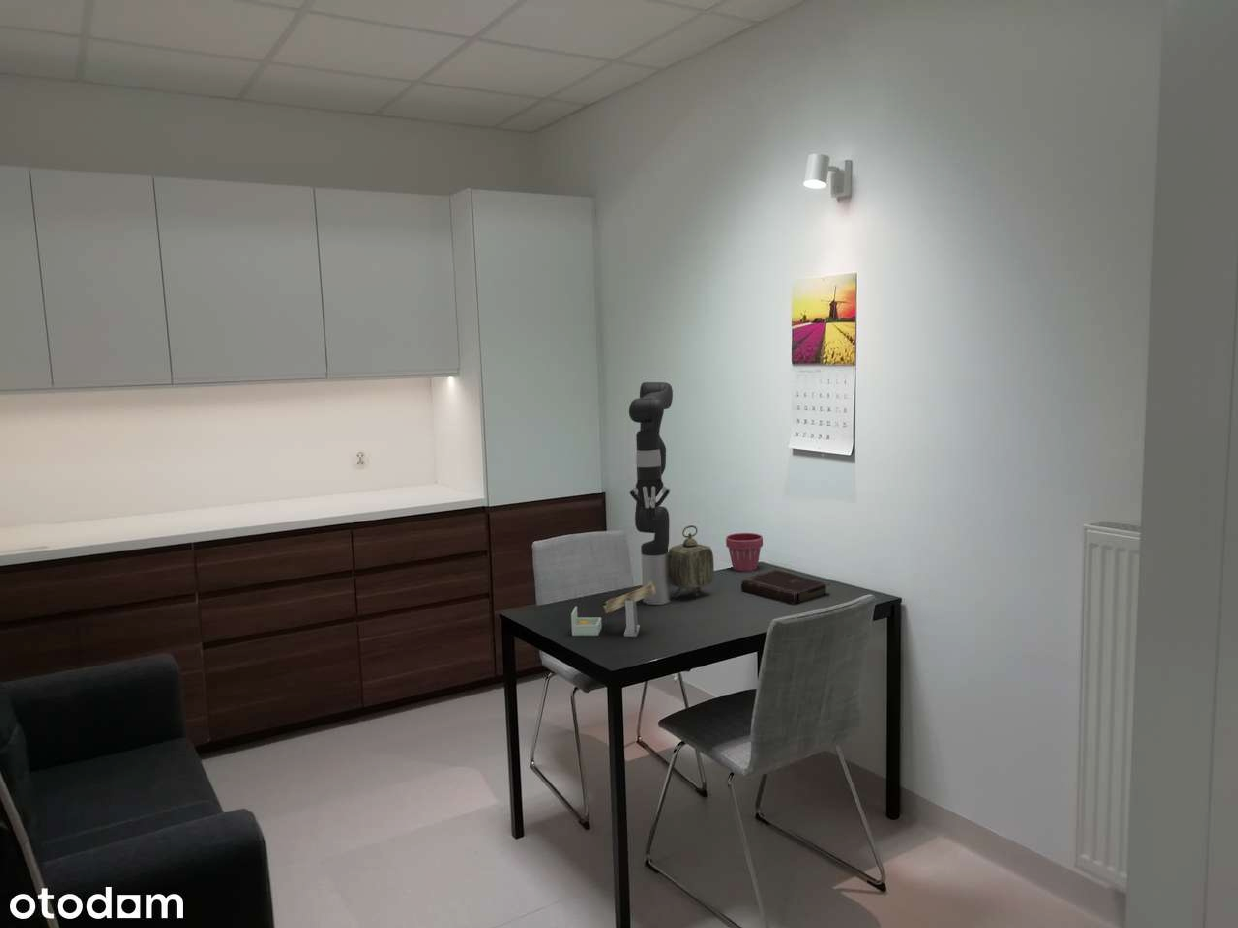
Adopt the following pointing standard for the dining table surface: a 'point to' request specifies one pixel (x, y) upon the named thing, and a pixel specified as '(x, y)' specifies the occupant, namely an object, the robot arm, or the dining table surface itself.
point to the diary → (784, 587)
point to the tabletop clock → (690, 564)
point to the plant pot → (744, 550)
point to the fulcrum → (631, 619)
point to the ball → (583, 623)
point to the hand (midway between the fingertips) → (651, 519)
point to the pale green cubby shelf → (585, 630)
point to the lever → (630, 597)
